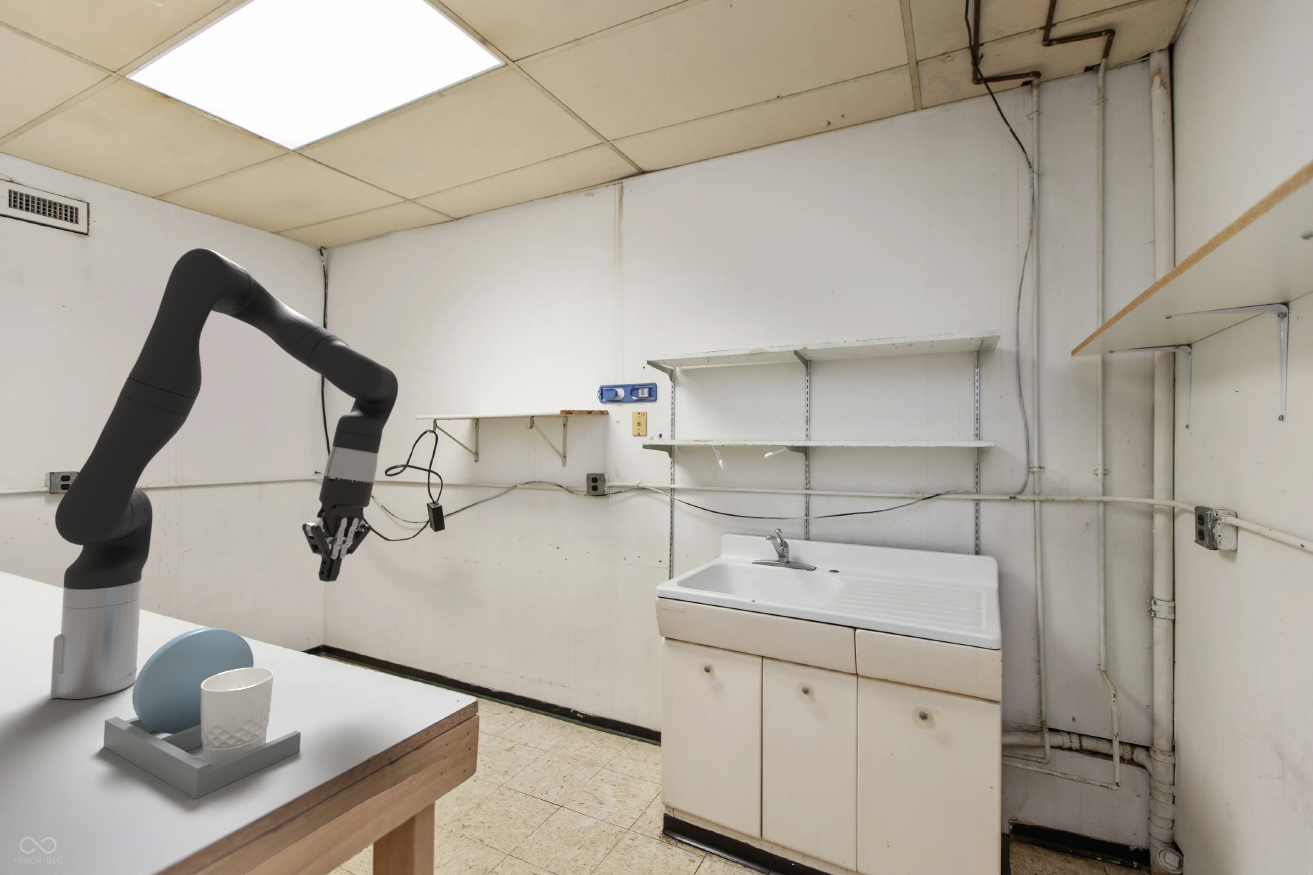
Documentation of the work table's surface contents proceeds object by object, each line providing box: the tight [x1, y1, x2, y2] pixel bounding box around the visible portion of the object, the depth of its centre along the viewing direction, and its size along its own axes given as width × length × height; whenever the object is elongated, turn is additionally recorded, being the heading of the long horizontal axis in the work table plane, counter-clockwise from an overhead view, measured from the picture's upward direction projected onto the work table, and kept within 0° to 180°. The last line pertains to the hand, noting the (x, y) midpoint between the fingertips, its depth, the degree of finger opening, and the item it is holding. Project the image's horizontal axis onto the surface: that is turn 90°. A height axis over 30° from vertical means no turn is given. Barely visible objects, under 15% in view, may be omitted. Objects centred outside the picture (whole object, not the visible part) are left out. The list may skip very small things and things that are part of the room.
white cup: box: [201, 666, 275, 767], centre depth 76 cm, size 8×8×10 cm
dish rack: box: [103, 627, 302, 799], centre depth 78 cm, size 15×23×14 cm, turn 64°
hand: (327, 580), depth 94 cm, fingers closed
